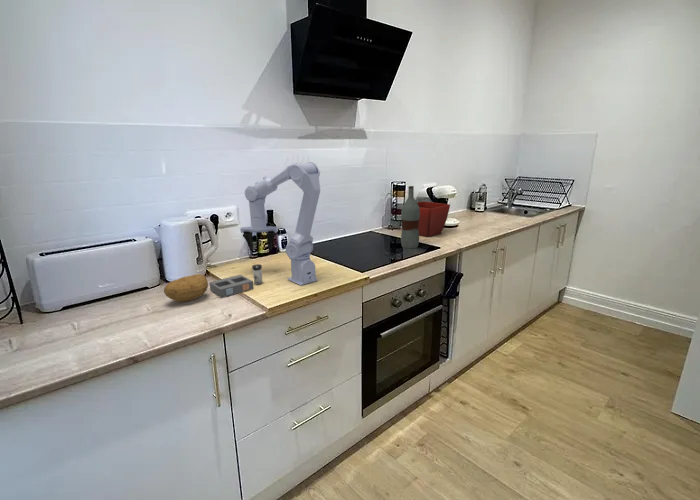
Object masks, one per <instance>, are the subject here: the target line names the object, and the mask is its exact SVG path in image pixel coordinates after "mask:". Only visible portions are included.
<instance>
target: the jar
mask: <svg viewBox="0 0 700 500" xmlns="http://www.w3.org/2000/svg"><path fill="white" fill-rule="evenodd" d="M262 267H263V266H262V264H259V263H258V264H253V265H251V269H252V274H253V285H255V286H259V285H262V284H263V283H264V282H263V275H262V274H263V271H262V269H263V268H262Z"/></svg>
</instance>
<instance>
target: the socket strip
mask: <svg viewBox="0 0 700 500" xmlns="http://www.w3.org/2000/svg"><path fill="white" fill-rule="evenodd" d="M208 285H209V290H210V291H211V292H212V293H214V294H215V295H217V296H218V297H220V298H221V299H222V298H225V297H229V296H233V295H238V294H241V293H244V292H247V290H248V291H251V289H252V290H254V280H252V279H250V278H248V277H246V276H244V275H242V274H239V275H233V276H230V277H225V278H222V279H219V280H213V281H210V282H208ZM243 291H244V292H243Z"/></svg>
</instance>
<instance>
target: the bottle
mask: <svg viewBox="0 0 700 500" xmlns="http://www.w3.org/2000/svg"><path fill="white" fill-rule="evenodd" d="M414 190H415V186H414V185H408V190H407V191H408V193H407V194H408V195H407V196H408V197H407V199H406V200H405V202H404V203H403V205H402V207H401V212H400V216H401V217H400V218H401V233H400V244H401V248H404V249H409V250H410V249H417V248H418V246H419V243H420V235H419V231H418V227H419V218H420V209H419V206H418V204H417V201H416V199H415V197H414V193H415V191H414Z"/></svg>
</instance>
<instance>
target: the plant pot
mask: <svg viewBox="0 0 700 500" xmlns="http://www.w3.org/2000/svg"><path fill="white" fill-rule="evenodd" d="M416 202H417V201H416ZM417 204H418V206H419V209H420V218H419V227H418V231H419V237H420V236H421V237H426V238H429V237H434V236H437V235H439V234H442V233H443V232H442V231H444V227H445V225H446V222H447V220H448V215H449V212H450V207H451V204H449V203H441V202H440V203H439V202H433V201H418V202H417Z"/></svg>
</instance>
